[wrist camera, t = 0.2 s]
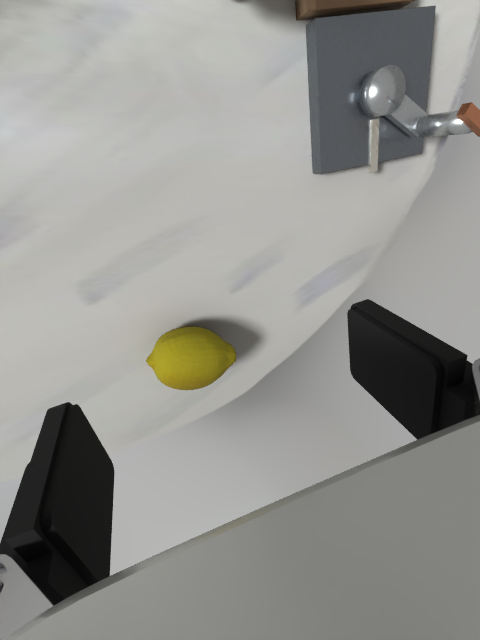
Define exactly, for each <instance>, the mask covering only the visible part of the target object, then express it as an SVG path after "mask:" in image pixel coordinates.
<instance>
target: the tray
mask: <svg viewBox="0 0 480 640" xmlns="http://www.w3.org/2000/svg"><path fill="white" fill-rule="evenodd" d="M295 1H296V19H297V20H304V19H314V18H323V17H333V16H342V15H352V14H361V13H371V12H380V11H390V10H398V9H400V8H402V7H404V6H405V5H407V4H409V3H411V2H412V1H414V0H295Z"/></svg>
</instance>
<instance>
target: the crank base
mask: <svg viewBox="0 0 480 640" xmlns="http://www.w3.org/2000/svg"><path fill="white" fill-rule="evenodd" d="M435 7H436V6H428V7H418V8H409V9H399V10H390V11H380V12H371V13H361V14H352V15H342V16H333V17H323V18H315V19H314V20H313V21H311V22H310V23H309V24H307V25H306V39H307V60H308V82H309V103H310V124H311V145H312V167H313V174H323V173H328V172H333V171H338V170H343V169H348V168H353V167H357V166H362V165H367V164H370V166H369V173H373V172H377V171H378V162H382V161H387V160H392V159H396V158H401V157H406V156H411V155H416V154H421V153H422V146H423V137H419V136H418V137H413V138H412V137H410V136H409V135H408V134H407V133H405V132H404V131H403V130H402V129H400V128H399V127H398V126H397V125H396V124H394V123H393V122H392V121H391V120H389V119H388V118H387V117H386V116H379V117H370V116H368V115H367V114H366V113H365V112H364V111H363V109H362V107H361V104H360V89H361V86H362V83H363V81H364V79H365V78H366V77H367V75H368V74H369V73H371V72H372V71H374V70H376V69H379V68H382V67H384V66H387V65H395V66H397V67H399V68H400V69H401V70H402V72H403V74H404V76H405V80H406V91H405V95H407V96H408V97H409V98H410V99H411V100H412V101H413V102H415V103H416V104H417V105H418V106H419V107H420V108H421V109H423V110H424V111H425V112H426V104H427V93H428V82H429V71H430V61H431V50H432V39H433V29H434V18H435Z"/></svg>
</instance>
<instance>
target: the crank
mask: <svg viewBox="0 0 480 640" xmlns="http://www.w3.org/2000/svg"><path fill="white" fill-rule="evenodd" d="M405 91H406V80H405V76H404V74H403V72H402V70H401V69H400V68H399V67H397V66H395V65H387V66H384V67H382V68H379V69H376V70H374V71H372V72H371V73H369V74H368V75H367V77H366V78H365V79H364V81H363V83H362V86H361V89H360V104H361V107H362V109H363V111H364V112H365V113H366V114H367V115H368V116H370V117H379V116H386V117H387V118H388V119H389V120H391V121H392V122H393V123H394V124H396V125H397V126H398V127H399V128H400V129H402V130H403V131H404V132H405V133H407V134H408V135H409V136H410V137H412V138H413V137H418V136H419V137H431V136H443V135H455V134H466V133H471V132H474V133H475V134H476V135H477V136H480V110H479V109H478V108H477V107H476V106H475V105H474V104H473V103H472V102H471V103H466V104H462V106H461V108H460V109H459V110H457V111H451V112H444V113H438V114H432V115H428V114H427V113H426V112H425V111H424V110H423V109H421V108H420V107H419V106H418V105H417V104H416V103H415V102H413V101H412V100H411V99H410V98H409V97H408V96H407V95H405Z"/></svg>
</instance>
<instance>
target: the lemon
mask: <svg viewBox="0 0 480 640" xmlns="http://www.w3.org/2000/svg"><path fill="white" fill-rule="evenodd" d="M235 361H236V352H235V349H234V348H233V347H232V345H231V344H229V343H227V342H225V341H224V340H222V339H221V338H220V337H219V336H218V335H217V334H215V333H214V332H212V331H210V330H207V329H204V328H201V327H193V326H191V327H181V328H176V329H173V330H171V331H169V332H167V333H165V334H164V335H162V336H161V337H160V338H159V339H158V341H157V342H156V345H155V347H154V349H153V351H152V353H151V354H150V356H149V357H148V358H147V360H146V362H147V363H148V365H149V366H150V367H152V369H153V370H154V372H155V374H156V376H157V378H158V379H159V380H160V381H161V382H162V383H163V384H165V385H166V386H168V387H171V388H174V389H179V390H194V389H199V388H203V387H205V386H208V385H210V384H211V383H213V382H214V381H216V380H217V379H218V378H219V377H221V376H222V375H223V374H224V372H225V371H226V370H227V369H228V368H229V367H230V366H231V365H232V364H233V363H234V362H235Z"/></svg>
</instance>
